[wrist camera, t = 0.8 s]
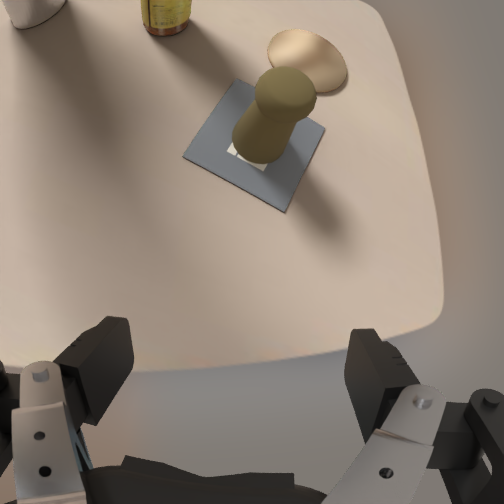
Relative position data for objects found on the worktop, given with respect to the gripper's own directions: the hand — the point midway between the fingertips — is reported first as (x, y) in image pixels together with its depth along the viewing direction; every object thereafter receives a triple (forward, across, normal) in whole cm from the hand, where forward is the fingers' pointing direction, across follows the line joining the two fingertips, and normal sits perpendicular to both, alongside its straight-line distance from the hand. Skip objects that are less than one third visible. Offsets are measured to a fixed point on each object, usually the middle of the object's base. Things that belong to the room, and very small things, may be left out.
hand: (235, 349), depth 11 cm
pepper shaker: (+26, 0, -10) cm, 28 cm away
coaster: (+32, -6, -22) cm, 39 cm away
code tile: (+26, 0, -10) cm, 28 cm away
